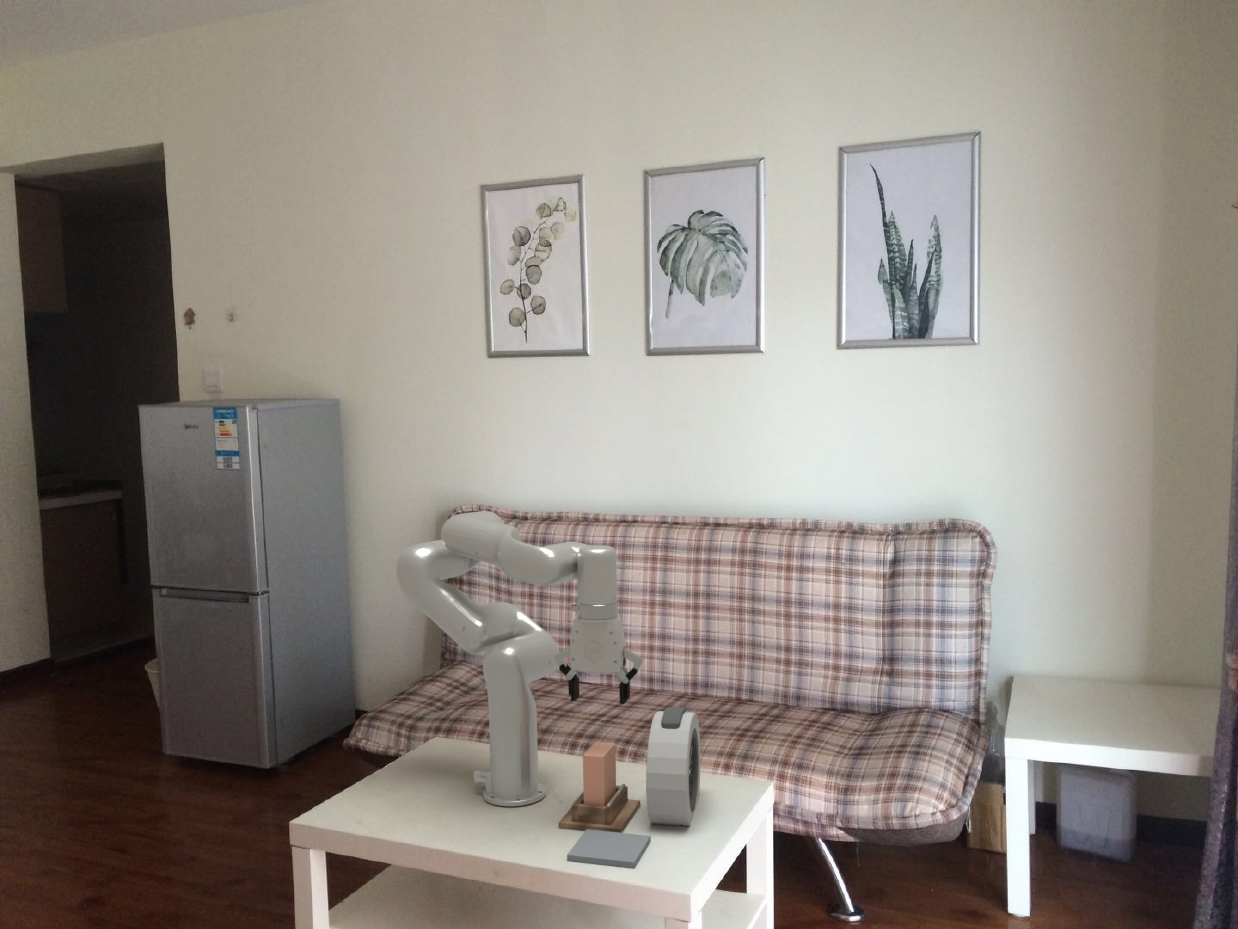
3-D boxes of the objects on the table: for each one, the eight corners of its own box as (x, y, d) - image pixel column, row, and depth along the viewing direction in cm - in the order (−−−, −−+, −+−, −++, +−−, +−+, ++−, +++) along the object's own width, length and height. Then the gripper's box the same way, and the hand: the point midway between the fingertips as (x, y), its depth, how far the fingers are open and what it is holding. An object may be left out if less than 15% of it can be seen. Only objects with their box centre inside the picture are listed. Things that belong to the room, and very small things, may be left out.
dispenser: (558, 828, 184) (558, 803, 184) (582, 800, 198) (581, 776, 197) (620, 834, 181) (620, 809, 181) (640, 805, 194) (640, 782, 194)
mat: (567, 860, 170) (567, 855, 170) (586, 834, 181) (586, 829, 181) (634, 868, 167) (634, 862, 167) (650, 841, 178) (650, 836, 178)
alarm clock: (687, 835, 180) (685, 727, 179) (646, 832, 182) (644, 725, 181) (701, 791, 201) (699, 695, 200) (664, 789, 202) (663, 693, 202)
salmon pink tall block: (584, 818, 186) (582, 755, 185) (596, 802, 194) (595, 741, 193) (604, 820, 185) (603, 757, 184) (616, 804, 192) (615, 743, 192)
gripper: (547, 613, 186) (549, 703, 187) (637, 617, 181) (638, 709, 182) (560, 606, 193) (562, 692, 194) (647, 609, 189) (648, 698, 189)
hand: (599, 700), depth 188 cm, fingers open, 9 cm apart
